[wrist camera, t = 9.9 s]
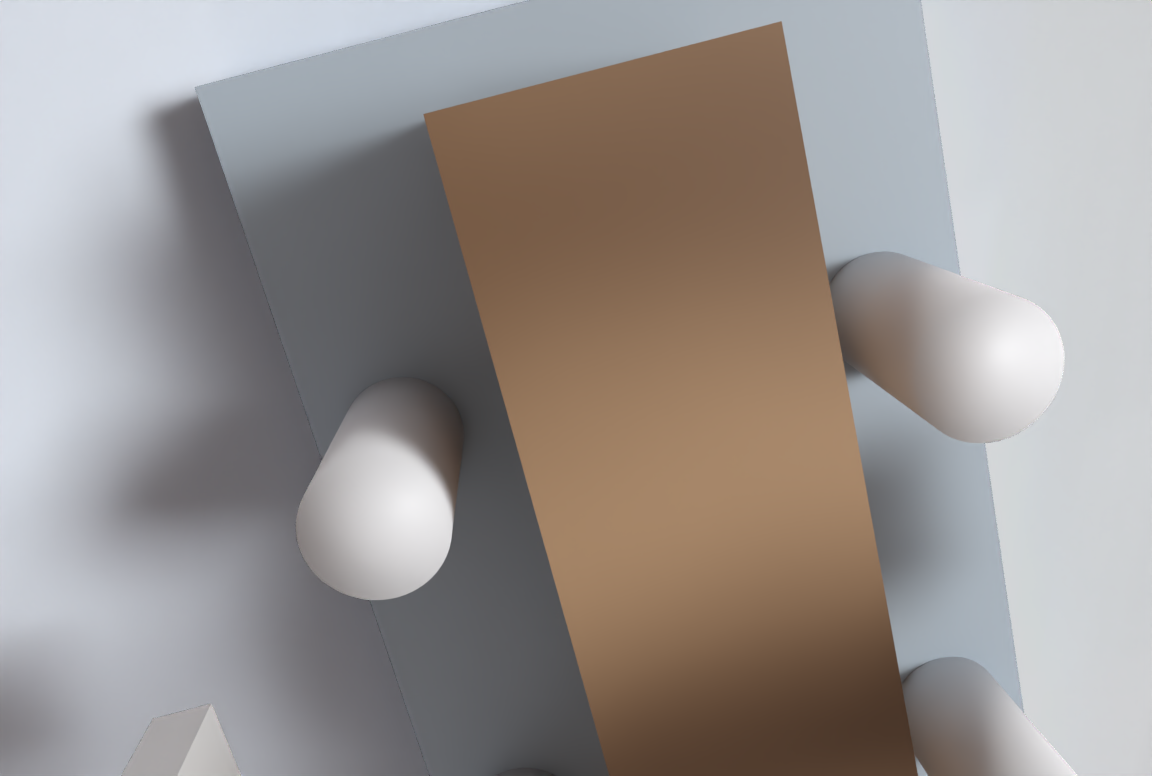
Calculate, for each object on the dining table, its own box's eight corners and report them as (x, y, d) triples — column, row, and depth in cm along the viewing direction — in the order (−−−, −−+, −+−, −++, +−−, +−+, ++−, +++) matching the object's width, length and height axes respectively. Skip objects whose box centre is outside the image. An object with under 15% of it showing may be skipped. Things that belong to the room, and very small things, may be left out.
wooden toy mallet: (377, 131, 14) (324, 140, 10) (768, 29, 14) (881, -5, 10) (661, 1091, 19) (706, 1373, 15) (950, 1017, 19) (1077, 1277, 15)
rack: (218, 88, 15) (90, 79, 10) (875, -82, 15) (1042, -169, 10) (530, 1018, 20) (538, 1294, 15) (1024, 890, 20) (1182, 1128, 15)
